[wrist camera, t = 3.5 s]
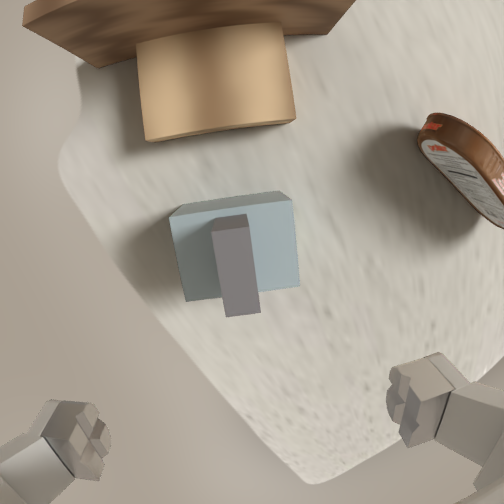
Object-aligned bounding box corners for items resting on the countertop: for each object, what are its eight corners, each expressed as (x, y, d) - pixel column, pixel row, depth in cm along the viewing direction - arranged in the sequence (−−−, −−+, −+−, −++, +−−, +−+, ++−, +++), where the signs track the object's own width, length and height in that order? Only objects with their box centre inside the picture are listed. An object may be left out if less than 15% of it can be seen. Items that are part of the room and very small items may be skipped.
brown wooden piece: (324, 20, 22) (376, -49, 10) (341, 119, 25) (415, 97, 13) (97, 54, 22) (24, 6, 10) (105, 153, 24) (24, 156, 13)
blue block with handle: (279, 190, 26) (305, 209, 17) (286, 259, 28) (312, 312, 18) (183, 204, 26) (154, 231, 16) (195, 272, 28) (177, 330, 18)
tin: (497, 206, 28) (550, 223, 19) (485, 229, 28) (537, 251, 20) (411, 113, 25) (468, 104, 17) (396, 139, 25) (452, 137, 17)
